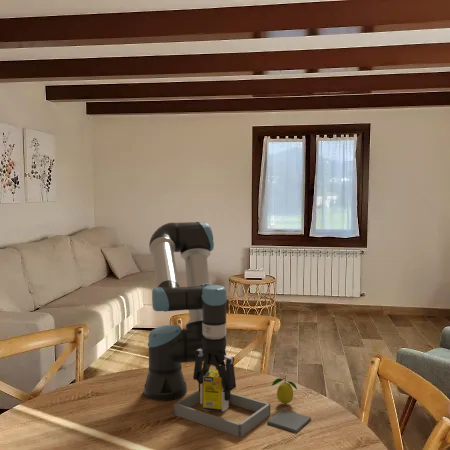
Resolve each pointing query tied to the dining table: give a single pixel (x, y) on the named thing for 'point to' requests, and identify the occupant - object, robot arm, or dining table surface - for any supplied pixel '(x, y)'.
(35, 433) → the dining table surface
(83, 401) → the dining table surface
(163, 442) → the dining table surface
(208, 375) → the supplement box
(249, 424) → the grey bin
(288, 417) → the slate coaster
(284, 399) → the lemon
